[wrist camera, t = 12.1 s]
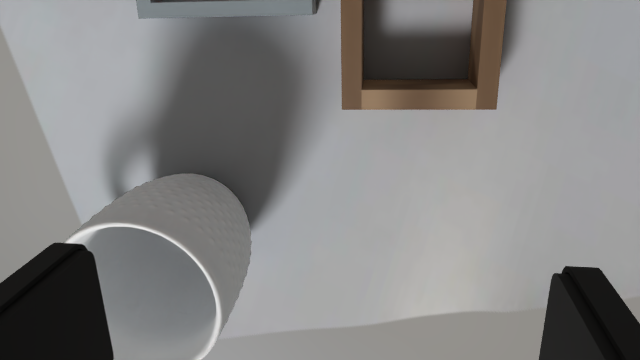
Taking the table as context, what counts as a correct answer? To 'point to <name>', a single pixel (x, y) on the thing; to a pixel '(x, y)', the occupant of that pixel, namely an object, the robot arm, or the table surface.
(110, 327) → the mug
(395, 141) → the table surface
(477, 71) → the socket block
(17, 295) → the robot arm
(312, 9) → the tray
